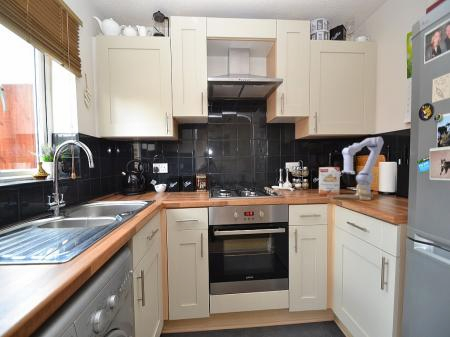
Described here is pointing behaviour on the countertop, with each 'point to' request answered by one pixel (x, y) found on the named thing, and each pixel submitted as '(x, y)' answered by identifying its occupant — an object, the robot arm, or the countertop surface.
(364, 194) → the gauge
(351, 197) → the board
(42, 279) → the countertop surface
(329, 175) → the cracker box
